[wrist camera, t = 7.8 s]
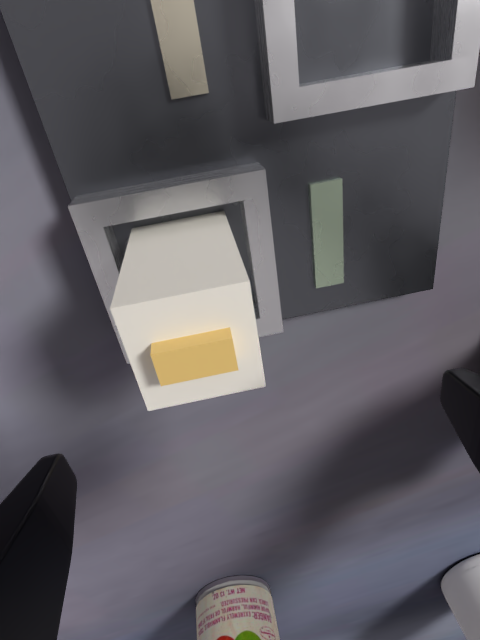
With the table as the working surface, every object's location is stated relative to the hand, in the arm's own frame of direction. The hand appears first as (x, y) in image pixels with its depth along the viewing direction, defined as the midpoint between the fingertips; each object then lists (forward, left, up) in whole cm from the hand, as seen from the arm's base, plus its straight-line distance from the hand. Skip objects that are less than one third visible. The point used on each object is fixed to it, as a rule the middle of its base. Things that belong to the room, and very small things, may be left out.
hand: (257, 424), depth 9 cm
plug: (0, +1, -11) cm, 11 cm away
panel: (+5, -3, -12) cm, 13 cm away
